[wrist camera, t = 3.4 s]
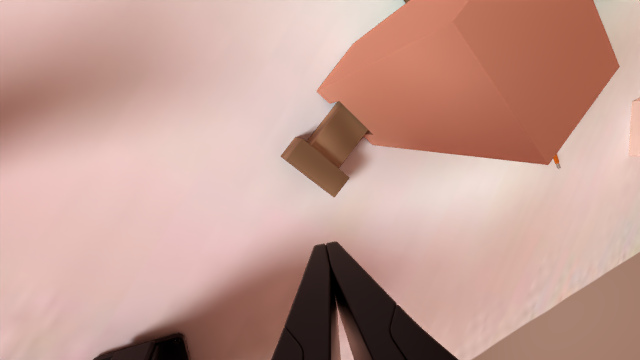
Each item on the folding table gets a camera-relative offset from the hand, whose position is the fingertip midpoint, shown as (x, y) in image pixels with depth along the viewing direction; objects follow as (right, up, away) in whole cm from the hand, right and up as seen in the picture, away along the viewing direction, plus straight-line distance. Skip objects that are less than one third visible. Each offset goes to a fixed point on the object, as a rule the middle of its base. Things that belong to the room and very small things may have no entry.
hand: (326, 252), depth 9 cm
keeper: (+3, +10, +13) cm, 16 cm away
